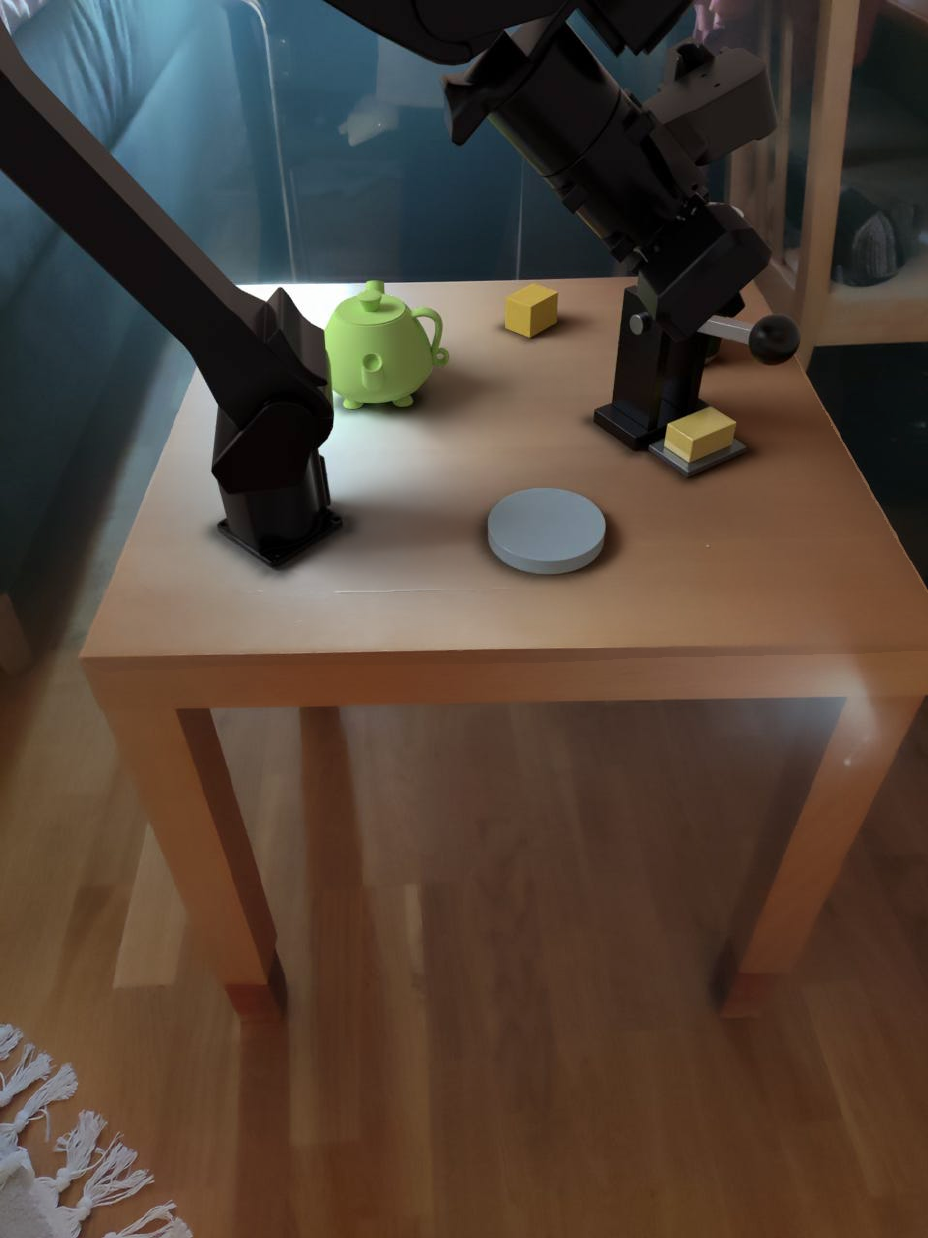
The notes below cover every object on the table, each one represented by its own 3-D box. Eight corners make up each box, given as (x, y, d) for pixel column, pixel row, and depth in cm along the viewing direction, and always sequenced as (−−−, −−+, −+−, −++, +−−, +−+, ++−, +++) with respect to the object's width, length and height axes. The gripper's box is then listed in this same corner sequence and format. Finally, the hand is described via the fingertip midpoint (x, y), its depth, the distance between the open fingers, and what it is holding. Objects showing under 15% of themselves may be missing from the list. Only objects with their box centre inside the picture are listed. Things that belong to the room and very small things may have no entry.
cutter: (710, 419, 71) (736, 288, 64) (633, 451, 68) (651, 317, 61) (667, 392, 74) (688, 264, 67) (592, 422, 71) (605, 291, 64)
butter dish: (745, 451, 68) (752, 423, 66) (687, 477, 66) (692, 449, 64) (705, 426, 71) (710, 398, 69) (647, 450, 68) (652, 421, 67)
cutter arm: (809, 362, 58) (813, 312, 56) (774, 376, 57) (777, 326, 55) (670, 326, 68) (670, 283, 66) (638, 338, 66) (637, 294, 65)
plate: (555, 591, 57) (556, 577, 56) (463, 539, 61) (463, 526, 60) (627, 532, 61) (629, 518, 60) (537, 487, 65) (537, 473, 64)
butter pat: (529, 338, 82) (530, 306, 80) (504, 328, 83) (505, 297, 81) (556, 322, 84) (558, 291, 82) (531, 313, 85) (533, 282, 83)
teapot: (472, 386, 76) (471, 289, 70) (374, 443, 70) (364, 343, 64) (381, 345, 81) (373, 252, 75) (283, 394, 75) (266, 298, 69)
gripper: (774, 36, 37) (932, 274, 46) (642, -39, 50) (784, 157, 59) (577, 244, 42) (754, 423, 50) (504, 125, 55) (654, 283, 64)
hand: (737, 309), depth 56 cm, fingers closed
